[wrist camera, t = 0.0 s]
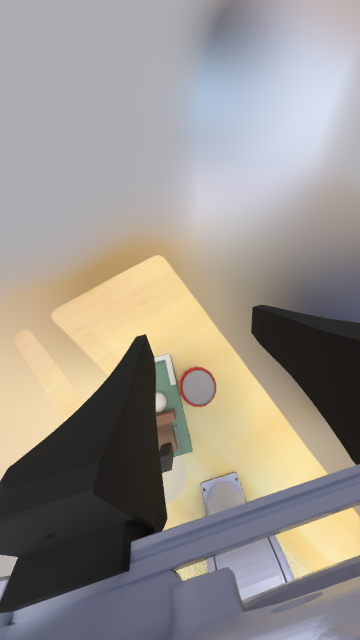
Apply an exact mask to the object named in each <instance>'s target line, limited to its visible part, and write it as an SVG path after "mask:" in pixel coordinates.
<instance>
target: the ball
mask: <svg viewBox="0 0 360 640" xmlns="http://www.w3.org/2000/svg"><path fill="white" fill-rule="evenodd" d="M166 403H167V400H166V397H165V395H164V394H163V393H160V392H156V412H161V411H162V410H163V409H164V408H165V406H166Z"/></svg>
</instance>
